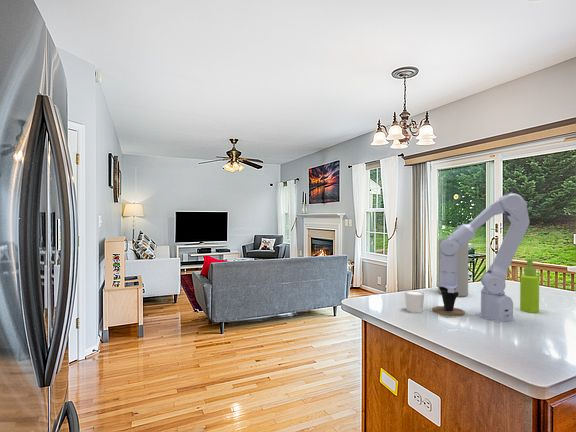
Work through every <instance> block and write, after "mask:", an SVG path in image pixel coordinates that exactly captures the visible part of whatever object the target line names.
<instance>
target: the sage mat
mask: <svg viewBox="0 0 576 432" xmlns="http://www.w3.org/2000/svg"><path fill="white" fill-rule="evenodd" d="M432 308H433V307H430V308H429V307H427V308H424V310H425V311H428V312H430V313H433V314H436V315H439V316H440V317H442V318H446V319H451V318H462V317H471V316H474V314H472V313H469V312H466V311H465V315H463V316H446V315H441V314H437V313H435V312H433V311H432Z"/></svg>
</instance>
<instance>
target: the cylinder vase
mask: <svg viewBox="0 0 576 432" xmlns="http://www.w3.org/2000/svg"><path fill="white" fill-rule="evenodd" d="M446 239H447V238H440V239H438V240H437V241H438V242H437V243H438V246H437V247H438V248H437V250H438V253H437V255H438V256H437V262H438V263H437V282H440V259H441V256H440V255H441V252H442V251H441V250H440V244H441V242H442V241H443V240H446ZM456 259H457V284H458V286H457V287H456V289H455V291H454V292H458V293H459V294H458V296H457V298H459V297H460V298H462V297H467V296H468V295H469V241H468V242H467V243H466V244H465V245H463V246H462V247H459V248H458V252H457V253H456ZM439 287H442V286H440V285H437V292H438V294H440V295H442V293H441V291H440V288H439Z"/></svg>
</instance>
